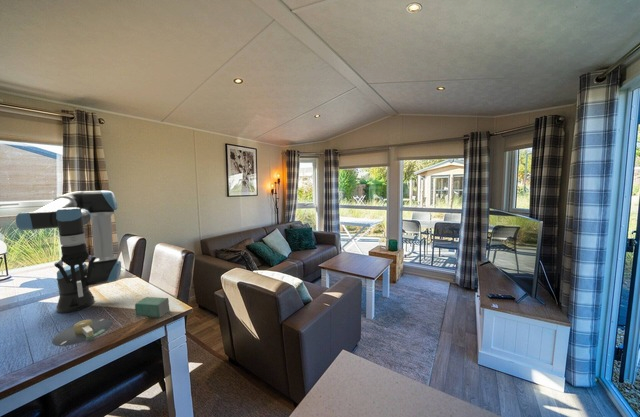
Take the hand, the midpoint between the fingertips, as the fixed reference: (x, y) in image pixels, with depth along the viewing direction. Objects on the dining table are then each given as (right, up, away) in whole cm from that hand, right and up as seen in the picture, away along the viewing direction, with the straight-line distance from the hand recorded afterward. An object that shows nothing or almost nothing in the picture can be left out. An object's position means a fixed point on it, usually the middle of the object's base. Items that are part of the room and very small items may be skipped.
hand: (80, 295), depth 108 cm
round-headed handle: (0, -18, +3) cm, 19 cm away
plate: (-3, -19, +5) cm, 20 cm away
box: (+17, -17, +22) cm, 33 cm away
